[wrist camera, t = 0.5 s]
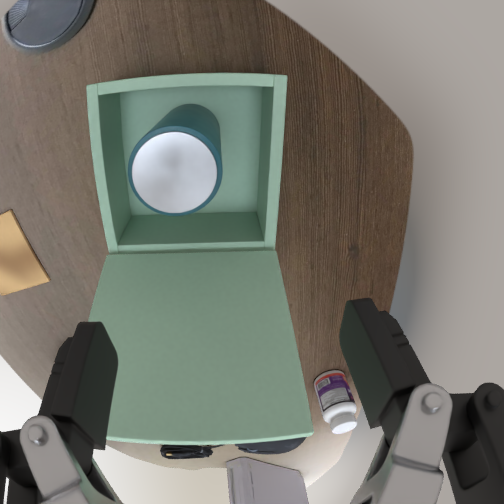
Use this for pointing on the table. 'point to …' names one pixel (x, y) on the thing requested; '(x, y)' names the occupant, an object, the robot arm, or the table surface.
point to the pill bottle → (336, 401)
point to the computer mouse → (256, 447)
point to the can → (178, 162)
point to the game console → (264, 483)
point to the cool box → (233, 160)
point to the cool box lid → (201, 349)
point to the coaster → (17, 258)
